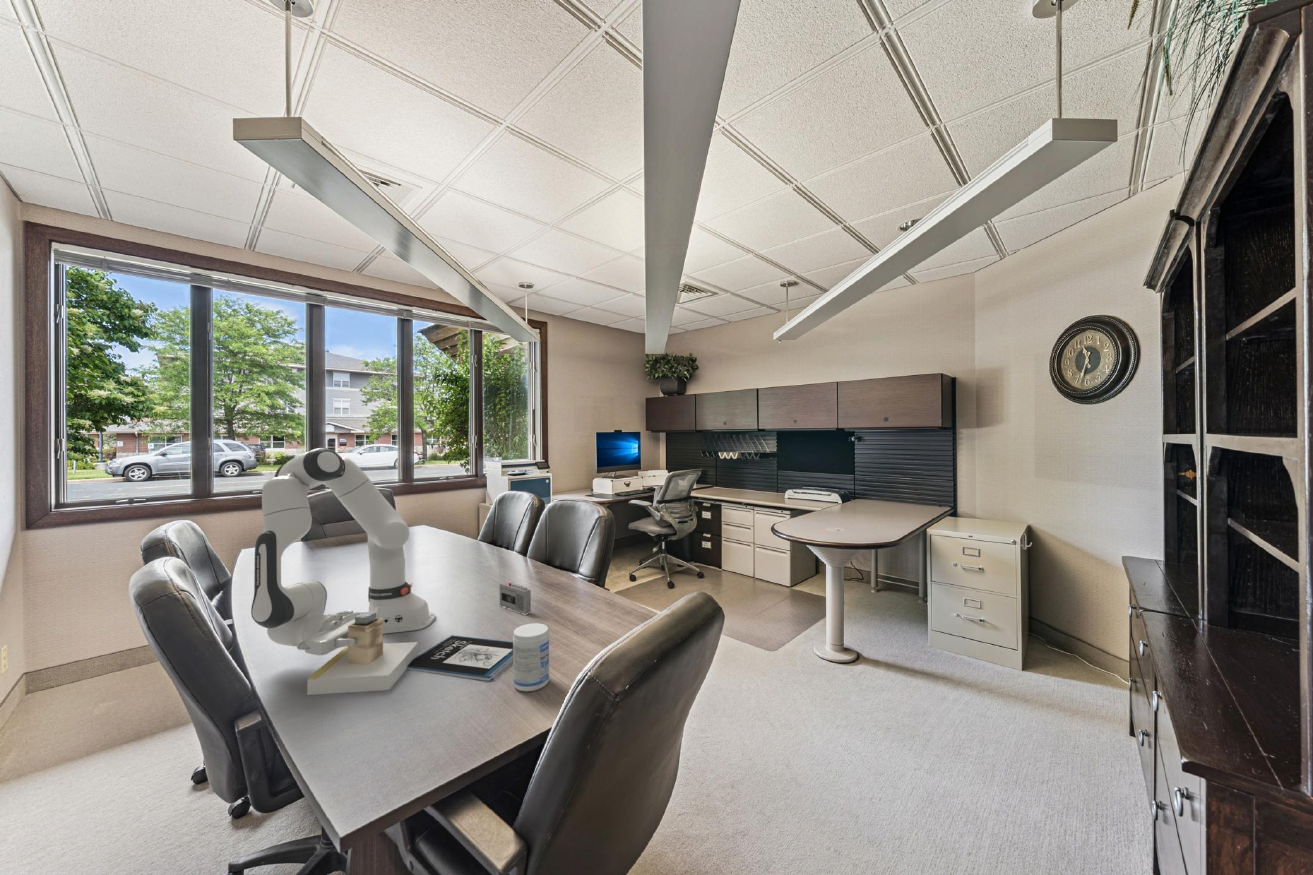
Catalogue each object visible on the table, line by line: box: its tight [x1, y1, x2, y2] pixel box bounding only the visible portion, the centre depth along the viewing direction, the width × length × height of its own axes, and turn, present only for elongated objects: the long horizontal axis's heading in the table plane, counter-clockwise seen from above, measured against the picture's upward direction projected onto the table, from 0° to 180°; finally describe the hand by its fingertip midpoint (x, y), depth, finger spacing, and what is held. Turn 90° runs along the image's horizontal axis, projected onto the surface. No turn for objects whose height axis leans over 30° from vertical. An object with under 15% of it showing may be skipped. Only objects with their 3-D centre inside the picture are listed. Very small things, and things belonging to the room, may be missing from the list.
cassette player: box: [499, 581, 532, 614], centre depth 180 cm, size 16×3×10 cm, turn 54°
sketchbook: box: [406, 634, 513, 682], centre depth 141 cm, size 22×30×2 cm
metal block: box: [355, 611, 376, 626], centre depth 132 cm, size 4×4×4 cm
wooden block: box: [348, 618, 384, 665], centre depth 132 cm, size 6×6×10 cm
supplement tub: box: [512, 622, 550, 692], centre depth 126 cm, size 10×10×15 cm
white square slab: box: [306, 641, 419, 696], centre depth 132 cm, size 20×20×4 cm
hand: (368, 634), depth 132 cm, fingers open, 8 cm apart
